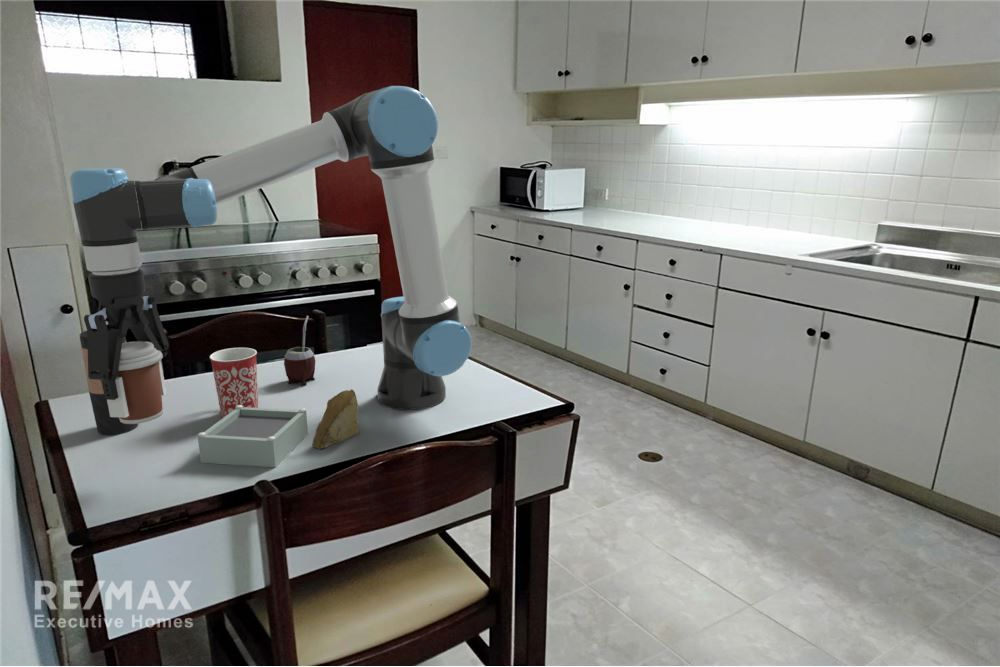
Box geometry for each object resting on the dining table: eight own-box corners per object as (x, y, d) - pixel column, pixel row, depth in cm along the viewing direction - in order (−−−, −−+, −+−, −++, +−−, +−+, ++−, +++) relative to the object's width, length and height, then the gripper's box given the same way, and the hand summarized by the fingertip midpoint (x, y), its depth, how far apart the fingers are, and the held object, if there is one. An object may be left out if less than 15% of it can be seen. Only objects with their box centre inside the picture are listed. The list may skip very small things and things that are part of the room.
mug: (264, 419, 136) (258, 357, 132) (217, 426, 133) (209, 362, 129) (260, 398, 147) (254, 341, 144) (216, 404, 144) (209, 345, 140)
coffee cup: (181, 404, 114) (170, 338, 111) (156, 426, 105) (144, 355, 102) (127, 406, 114) (115, 339, 110) (98, 428, 105) (84, 356, 102)
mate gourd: (290, 388, 153) (284, 326, 149) (282, 379, 160) (276, 319, 156) (322, 383, 157) (317, 322, 153) (313, 373, 163) (308, 315, 159)
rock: (316, 446, 119) (369, 428, 123) (301, 402, 121) (353, 386, 125) (312, 458, 128) (361, 441, 132) (298, 418, 130) (347, 402, 134)
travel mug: (95, 438, 127) (76, 339, 122) (97, 424, 133) (80, 329, 128) (139, 431, 130) (124, 333, 125) (140, 417, 137) (125, 324, 131)
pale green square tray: (308, 434, 129) (306, 408, 127) (275, 467, 115) (273, 439, 114) (240, 430, 131) (237, 404, 129) (200, 462, 117) (196, 434, 116)
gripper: (138, 258, 113) (159, 381, 120) (38, 284, 93) (69, 431, 99) (179, 258, 113) (197, 382, 119) (86, 285, 92) (115, 433, 98)
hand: (139, 404), depth 109 cm, fingers closed on coffee cup, 9 cm apart
